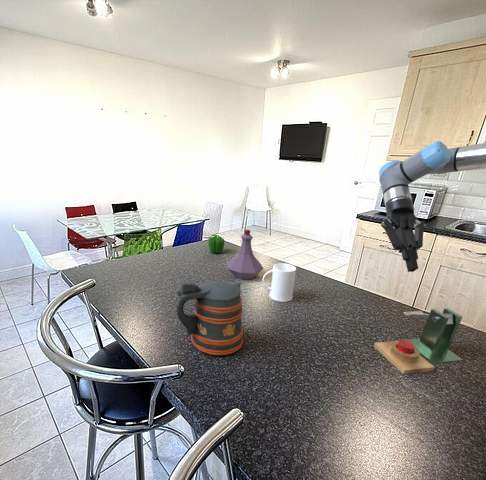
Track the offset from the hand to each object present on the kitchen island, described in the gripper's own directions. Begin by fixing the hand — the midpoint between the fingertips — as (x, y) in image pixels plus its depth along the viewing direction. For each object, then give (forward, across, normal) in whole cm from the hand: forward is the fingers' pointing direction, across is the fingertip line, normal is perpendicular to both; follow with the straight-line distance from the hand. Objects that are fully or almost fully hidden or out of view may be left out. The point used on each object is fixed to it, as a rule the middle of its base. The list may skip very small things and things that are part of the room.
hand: (413, 269), depth 87 cm
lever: (+15, -1, 0) cm, 15 cm away
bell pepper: (-31, +61, -57) cm, 89 cm away
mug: (+3, +36, -24) cm, 43 cm away
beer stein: (+24, +60, -2) cm, 64 cm away
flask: (-11, +48, -37) cm, 61 cm away
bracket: (+24, -2, -3) cm, 24 cm away
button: (+24, +9, +3) cm, 26 cm away
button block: (+27, +9, 0) cm, 28 cm away
